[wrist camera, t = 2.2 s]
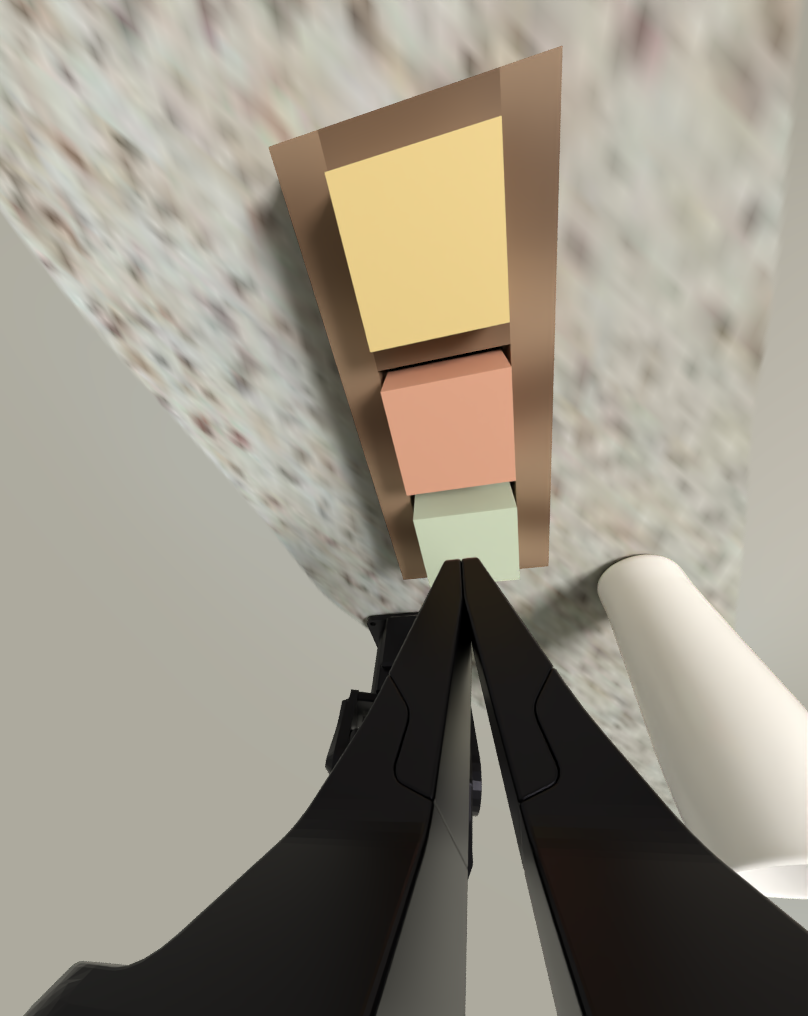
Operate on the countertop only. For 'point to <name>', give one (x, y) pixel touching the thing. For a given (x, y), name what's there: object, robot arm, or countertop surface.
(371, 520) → the countertop surface
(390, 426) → the terracotta key
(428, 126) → the brown wooden slotted tray
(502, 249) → the ochre key
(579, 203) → the countertop surface
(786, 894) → the white tall cylinder
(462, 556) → the sage key
